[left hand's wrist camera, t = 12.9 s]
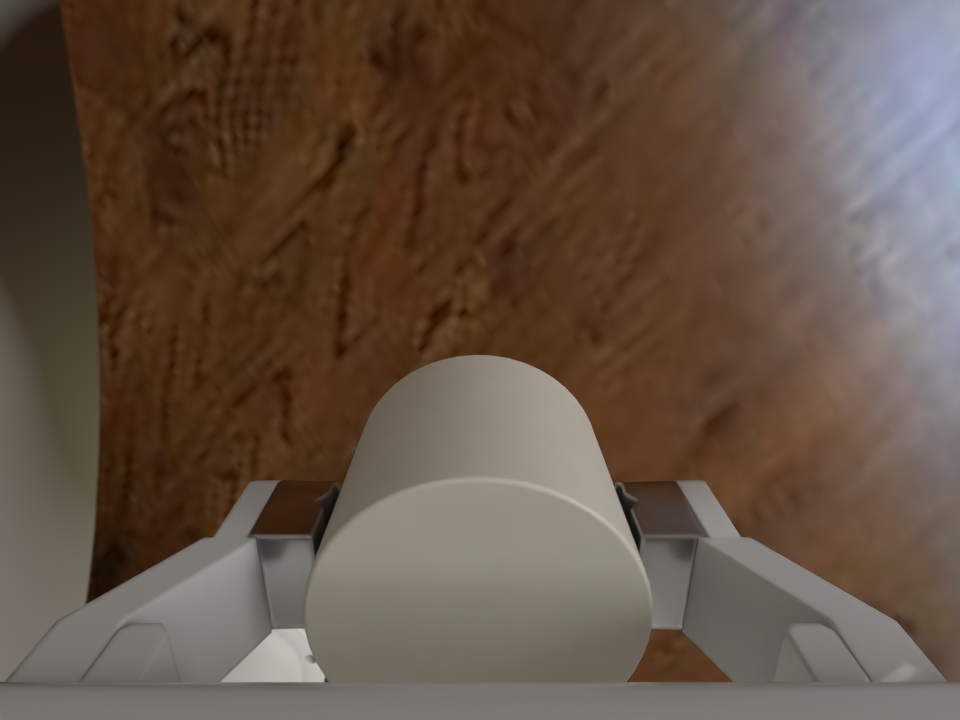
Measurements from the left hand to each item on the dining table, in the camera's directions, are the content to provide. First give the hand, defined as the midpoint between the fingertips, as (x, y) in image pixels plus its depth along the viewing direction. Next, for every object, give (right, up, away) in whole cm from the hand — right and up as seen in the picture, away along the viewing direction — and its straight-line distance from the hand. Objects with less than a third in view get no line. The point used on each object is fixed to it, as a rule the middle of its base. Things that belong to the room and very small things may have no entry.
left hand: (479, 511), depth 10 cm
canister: (0, +1, +2) cm, 2 cm away
